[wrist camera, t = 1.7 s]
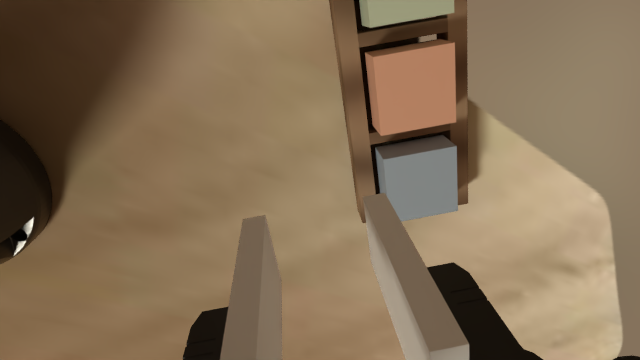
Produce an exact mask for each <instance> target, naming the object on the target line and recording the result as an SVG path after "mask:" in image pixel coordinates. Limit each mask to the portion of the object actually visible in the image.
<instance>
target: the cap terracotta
mask: <svg viewBox="0 0 640 360" xmlns="http://www.w3.org/2000/svg"><path fill="white" fill-rule="evenodd" d="M365 58H366V67H367V77H368V86H369V95H370V104H371V114H372V123H373V126H374V128H375V129H376V130H377V131H378V133H379V134H380V135H381V136H384V135H390V134H395V133H400V132H406V131H411V130H417V129H422V128H428V127H433V126H439V125H444V124H449V123H455V122H456V80H455V42H451V41H446V40H442V39H437V40H431V41H426V42H420V43H414V44H409V45H403V46H398V47H392V48H387V49H381V50H375V51H370V52H365Z"/></svg>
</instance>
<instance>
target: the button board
mask: <svg viewBox="0 0 640 360" xmlns="http://www.w3.org/2000/svg"><path fill="white" fill-rule="evenodd" d="M329 3H330V10H331V18H332V25H333V32H334V39H335V47H336V54H337V61H338V69H339V76H340V83H341V90H342V98H343V105H344V112H345V120H346V127H347V134H348V141H349V149H350V156H351V163H352V171H353V178H354V185H355V193H356V200H357V207H358V212H359V214H360V217H361V220H362V222H363V223H366V218H365V210H364V202H363V197H364V196H370V195H375V194H376V192H375V184H374V175H373V166H372V157H371V148H370V145H372V144H377V143H383V142H388V141H393V140H399V139H404V138H410V137H415V136H421V135H426V134H431V133H437V132H440V135H444V136H445V137H446V138H447V139H449V140H450V141H451V142H452V143H453V144H455V145H456V146H457V193H458V205H462V204H467V203H468V109H467V0H454V13H450V14H445V15H439V16H436V17H432V18H426V19H420V20H415V21H409V22H404V23H398V24H392V25H387V26H381V27H376V28H370V29H364V30H359V31H357V25H356V17H355V8H354V0H329ZM432 34H437V39H442V40H446V41H451V42H455V80H456V122H455V123H449V124H444V125H439V126H433V127H428V128H422V129H417V130H411V131H406V132H400V133H395V134H390V135H384V136H381V135H380V134H379V133H378V131H377V130H376V129H375V128H374V126H373V124H368V122H367V113H366V105H365V96H364V87H363V78H362V69H361V61H360V52H359V48H360V47H365V46H371V45H376V44H382V43H387V42H393V41H399V40H404V39H410V38H415V37H421V36H427V35H432Z"/></svg>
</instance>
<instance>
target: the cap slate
mask: <svg viewBox="0 0 640 360" xmlns="http://www.w3.org/2000/svg"><path fill="white" fill-rule="evenodd" d="M375 150H376V160H377V169H378V178H379V187H380V193H385V194H386V196H387V197H388V199H389V201H390V203H391V205H392V206H393V208H394V210H395V212H396V214H397V215H398V217H399V219H400V221H406V220H411V219H417V218H422V217H427V216H433V215H438V214H443V213H448V212H454V211H458V193H457V146H456V145H455V144H453V143H452V142H451V141H450V140H449V139H447V138H446V137H445V136H444V135H439V136H433V137H428V138H423V139H417V140H412V141H406V142H401V143H396V144H390V145H385V146H379V147H375Z"/></svg>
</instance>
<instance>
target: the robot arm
mask: <svg viewBox="0 0 640 360" xmlns="http://www.w3.org/2000/svg"><path fill="white" fill-rule="evenodd" d="M363 202H364V210H365V218H366V225H367V233H368V241H369V248H370V256H371V263H372V266H373V269H374V271H375V274H376V277H377V280H378V283H379V286H380V288H381V291H382V294H383V297H384V300H385V302H386V305H387V308H388V311H389V314H390V316H391V319H392V322H393V325H394V328H395V331H396V333H397V336H398V339H399V342H400V345H401V347H402V350H403V353H404V356H405V359H406V360H543V359H542V358H540V357H539V356H537V355H536V354H534V353H532V352H530V351H527V350H524V349H523V348H522V347H521V346H520V344H519V343H518V342H517V340H516V339H515V337H514V336H513V335H512V333H511V332H510V330H509V329H508V328H507V326H506V325H505V323H504V322H503V320H502V319H501V318H500V316H499V315H498V313H497V312H496V310H495V309H494V308H493V306H492V305H491V303H490V302H489V301H487V298H486V296H485V295H484V293H483V292H482V291H481V289H479V286H478V285H477V283H476V282H475V281H474V279H473V278H472V276H471V275H470V273H469V272H467V271H466V270H464V269H463V268H461V267H460V266H458V265H456V264H455V263H448V264H443V265H438V266H432V267H426V266H425V264H424V262H423V260H422V258H421V257H420V255H419V253H418V251H417V249H416V248H415V246H414V244H413V242H412V240H411V239H410V237H409V235H408V233H407V232H406V230H405V228H404V226H403V224H402V223H401V221H400V219H399V217H398V215H397V214H396V212H395V210H394V208H393V206H392V205H391V203H390V201H389V199H388V197H387V196H386V194H385V193H380V194H375V195H370V196H364V197H363ZM51 205H52V195H51V187H50V183H49V179H48V177H47V174H46V171H45V169H44V167H43V165H42V163H41V161H40V160H39V158H38V157H37V155H36V154H35V152H34V151H33V150H32V148H31V147H30V146H29V145H28V144H27V143H26V142H25V140H24V139H23V138H22V137H21V136H20V135H18V134H17V133H16V132H15V131H14V130H13V129H12V128H10V127H9V126H8V125H6V124H5V123H4V122H2V121H1V120H0V264H2V263H4V262H6V261H8V260H10V259H11V258H13V257H15V256H16V255H17V254H19V253H20V252H21V251H23V250H24V249H25V248H26V247H27V246H28V245H29V244H30V243H31V242H32V241H33V240H34V239H35V238H36V237H37V236H38V235H39V234H40V233H41V231H42V230H43V228H44V227H45V225H46V223H47V221H48V218H49V215H50V211H51ZM183 360H282V294H281V276H280V272H279V268H278V264H277V260H276V256H275V252H274V248H273V244H272V240H271V236H270V232H269V228H268V224H267V220H266V216H265V215H263V216H257V217H252V218H247V219H243V222H242V228H241V234H240V240H239V246H238V252H237V258H236V264H235V270H234V276H233V282H232V288H231V295H230V301H229V307H225V308H219V309H214V310H209V311H204V312H202V313H201V314H200V316H199V317H198V318H197V320H196V321H195V322H194V324H193V325H192V327H191V329H190V333H189V336H188V340H187V347H185V351H184V355H183ZM613 360H640V357H637V356H622V357H617V358H615V359H613Z"/></svg>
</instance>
